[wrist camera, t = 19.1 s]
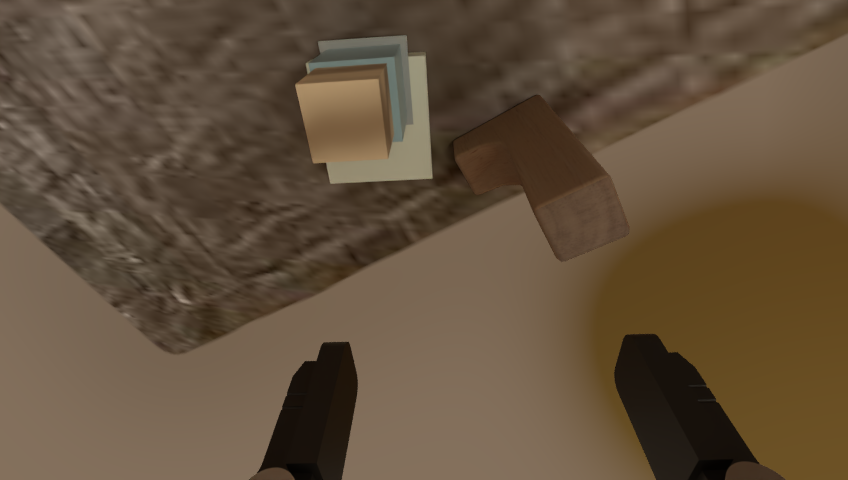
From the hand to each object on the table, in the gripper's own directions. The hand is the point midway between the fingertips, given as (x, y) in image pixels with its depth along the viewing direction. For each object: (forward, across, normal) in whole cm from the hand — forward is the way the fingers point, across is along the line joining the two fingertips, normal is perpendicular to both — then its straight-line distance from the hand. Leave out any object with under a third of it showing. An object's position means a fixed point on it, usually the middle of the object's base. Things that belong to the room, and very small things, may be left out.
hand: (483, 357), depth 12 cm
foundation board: (+30, +7, +2) cm, 31 cm away
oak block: (+22, +7, -2) cm, 23 cm away
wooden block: (+30, -5, +4) cm, 31 cm away
